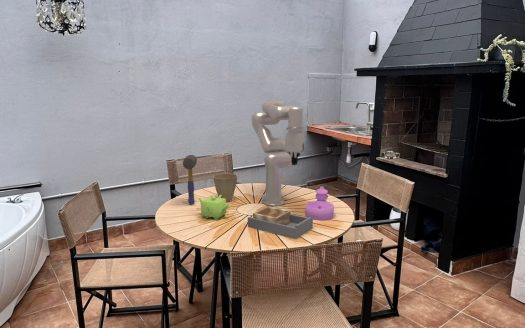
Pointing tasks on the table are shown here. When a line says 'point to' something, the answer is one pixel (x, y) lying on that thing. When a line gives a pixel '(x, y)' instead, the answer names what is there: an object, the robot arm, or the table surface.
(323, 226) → the table surface
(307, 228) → the tray
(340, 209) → the table surface
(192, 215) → the table surface
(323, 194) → the container set
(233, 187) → the plant pot
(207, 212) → the green lumpy block
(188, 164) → the rubber mallet
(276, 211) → the crate
